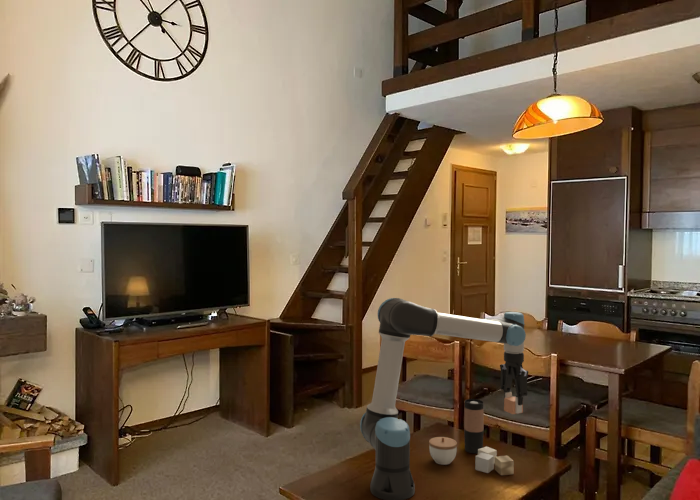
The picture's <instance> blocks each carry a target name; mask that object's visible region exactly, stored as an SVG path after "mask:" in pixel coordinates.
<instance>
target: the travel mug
mask: <svg viewBox="0 0 700 500" xmlns="http://www.w3.org/2000/svg"><path fill="white" fill-rule="evenodd" d="M463 421H464V422H463V423H464V424H463V426H464V429H463V432H464V437H463V438H464V450H465V452H467V453H470V454H478V449H480V448H483V447H484V431H485V430H484V401H483V400H481V399H477V398H466V399H465V400H464V418H463Z"/></svg>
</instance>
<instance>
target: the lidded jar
mask: <svg viewBox="0 0 700 500" xmlns="http://www.w3.org/2000/svg"><path fill="white" fill-rule="evenodd" d="M428 445H429V447H428V448H429V455H430V457H431V458H432V460H434V462H435V463H436V464H438V465H442V466H444V465H445V466H447V465H450V464H451V463H452V462H453V461H454V460H455V458H456V456H457V451H458V448H457V447H458V442H457V441H456V440H455V439H453V438H451V437H447V436H436V437H432V438H429V441H428Z"/></svg>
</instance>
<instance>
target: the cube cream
mask: <svg viewBox="0 0 700 500" xmlns="http://www.w3.org/2000/svg"><path fill="white" fill-rule="evenodd" d="M480 453H485V454H489V455H493V456H494V465H495V457H496V456H497V455H498V451H497V449H494V448H492V447H489V446H487V445H486V446H483V448H480V449H478V453H477V455H478V454H480Z"/></svg>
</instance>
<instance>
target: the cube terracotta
mask: <svg viewBox="0 0 700 500" xmlns="http://www.w3.org/2000/svg"><path fill="white" fill-rule="evenodd" d="M503 399H504V400H503V402H504V404H503V411H504V412H506V413H508V414H511V415H518V414H519V413H517V414H516V413H515V396H512V397H508V398H504V397H503ZM522 413H524V404H523V405H522ZM522 413H521V414H522Z"/></svg>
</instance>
